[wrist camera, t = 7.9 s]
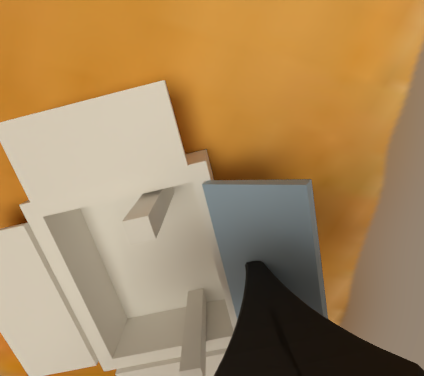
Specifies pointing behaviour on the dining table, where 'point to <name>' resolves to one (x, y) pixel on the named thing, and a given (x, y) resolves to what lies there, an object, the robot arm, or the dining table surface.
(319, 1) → the dining table surface
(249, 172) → the dining table surface
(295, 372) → the robot arm
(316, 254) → the flap
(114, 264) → the carton
